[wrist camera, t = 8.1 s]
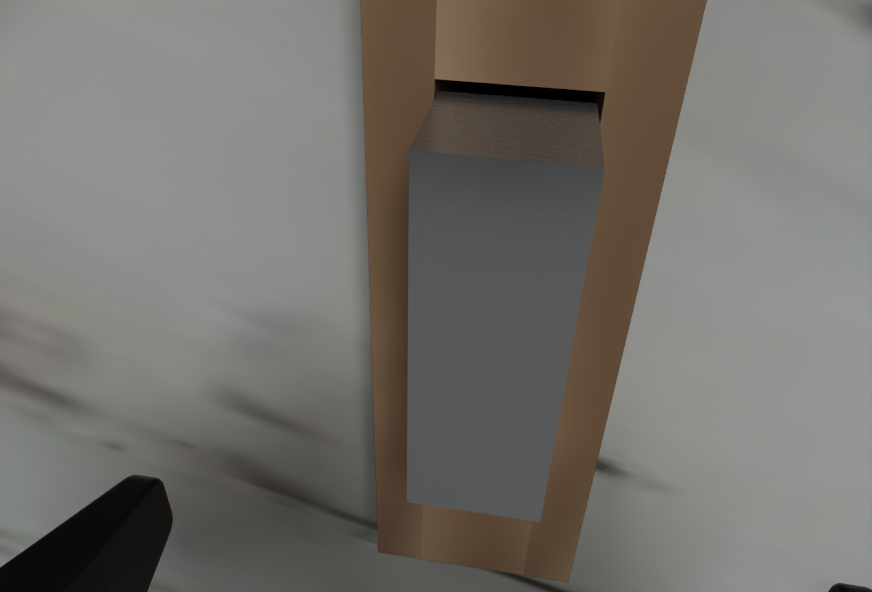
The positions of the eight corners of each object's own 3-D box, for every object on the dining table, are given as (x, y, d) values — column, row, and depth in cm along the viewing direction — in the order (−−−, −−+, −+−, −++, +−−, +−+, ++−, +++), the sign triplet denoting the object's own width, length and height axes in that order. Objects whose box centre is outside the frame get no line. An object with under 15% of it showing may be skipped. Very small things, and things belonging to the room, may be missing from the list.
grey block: (445, 340, 20) (406, 501, 15) (458, 50, 15) (408, 150, 11) (546, 352, 20) (540, 522, 15) (592, 60, 15) (604, 166, 10)
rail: (397, 479, 24) (377, 552, 22) (392, -385, 12) (346, -445, 9) (567, 503, 23) (568, 582, 21) (757, -385, 11) (813, -451, 8)
